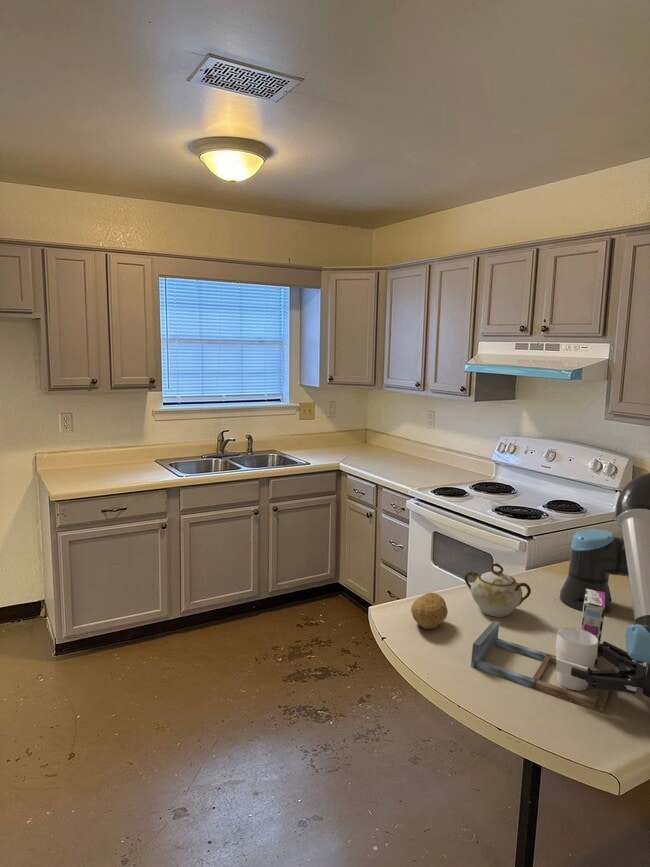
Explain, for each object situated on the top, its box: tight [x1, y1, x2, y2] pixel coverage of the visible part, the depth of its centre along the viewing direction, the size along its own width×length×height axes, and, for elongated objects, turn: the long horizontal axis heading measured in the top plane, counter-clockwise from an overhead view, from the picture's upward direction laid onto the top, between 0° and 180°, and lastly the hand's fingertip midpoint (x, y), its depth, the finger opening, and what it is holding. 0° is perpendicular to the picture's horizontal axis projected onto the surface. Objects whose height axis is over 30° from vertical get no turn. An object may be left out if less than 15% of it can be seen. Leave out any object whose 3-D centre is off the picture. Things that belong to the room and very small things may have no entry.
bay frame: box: [470, 620, 611, 713], centre depth 144 cm, size 30×16×6 cm, turn 56°
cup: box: [555, 626, 598, 692], centre depth 140 cm, size 9×9×12 cm
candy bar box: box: [579, 589, 605, 669], centre depth 153 cm, size 11×5×16 cm, turn 155°
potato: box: [410, 591, 449, 630], centre depth 166 cm, size 10×14×8 cm
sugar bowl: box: [464, 562, 532, 618], centre depth 177 cm, size 20×15×15 cm
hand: (562, 652), depth 141 cm, fingers open, 13 cm apart
